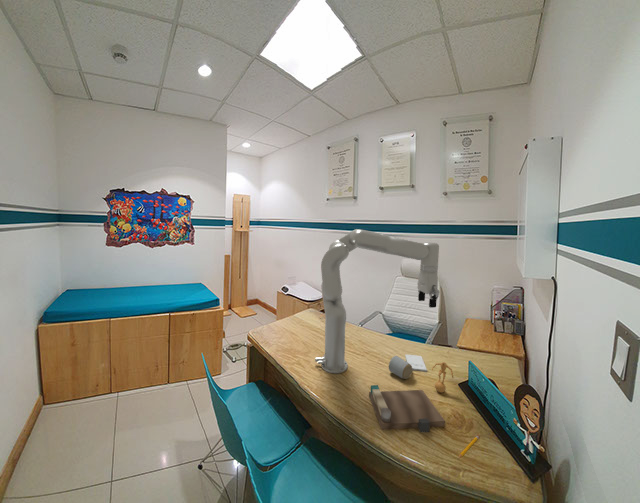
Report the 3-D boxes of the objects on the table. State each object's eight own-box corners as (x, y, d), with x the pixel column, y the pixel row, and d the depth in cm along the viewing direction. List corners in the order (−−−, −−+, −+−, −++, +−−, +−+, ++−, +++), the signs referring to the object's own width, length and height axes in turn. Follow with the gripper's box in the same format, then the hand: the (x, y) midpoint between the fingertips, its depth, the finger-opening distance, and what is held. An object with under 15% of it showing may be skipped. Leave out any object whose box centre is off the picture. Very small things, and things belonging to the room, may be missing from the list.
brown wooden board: (381, 429, 83) (381, 424, 83) (368, 396, 99) (369, 391, 99) (444, 426, 85) (445, 421, 85) (422, 394, 101) (422, 389, 100)
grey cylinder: (403, 383, 108) (404, 366, 107) (387, 373, 114) (388, 358, 113) (416, 374, 114) (417, 358, 114) (401, 366, 121) (402, 351, 120)
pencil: (479, 438, 81) (479, 436, 81) (459, 460, 73) (459, 458, 73) (476, 436, 81) (476, 434, 81) (456, 458, 74) (456, 456, 73)
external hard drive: (421, 359, 128) (427, 373, 116) (405, 357, 130) (408, 370, 118) (421, 356, 128) (427, 369, 116) (405, 354, 130) (408, 367, 118)
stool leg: (392, 422, 84) (392, 414, 83) (382, 422, 83) (383, 414, 83) (377, 391, 99) (378, 384, 99) (370, 391, 99) (370, 384, 99)
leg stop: (420, 432, 82) (421, 422, 82) (418, 428, 84) (418, 419, 83) (429, 432, 82) (429, 422, 82) (426, 428, 84) (427, 418, 84)
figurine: (427, 389, 104) (429, 362, 103) (432, 382, 108) (434, 356, 107) (449, 398, 98) (451, 370, 97) (453, 391, 103) (455, 364, 101)
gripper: (412, 265, 125) (410, 298, 127) (431, 272, 108) (429, 310, 110) (426, 265, 126) (424, 298, 128) (447, 272, 109) (445, 309, 111)
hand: (426, 303), depth 119 cm, fingers open, 9 cm apart
